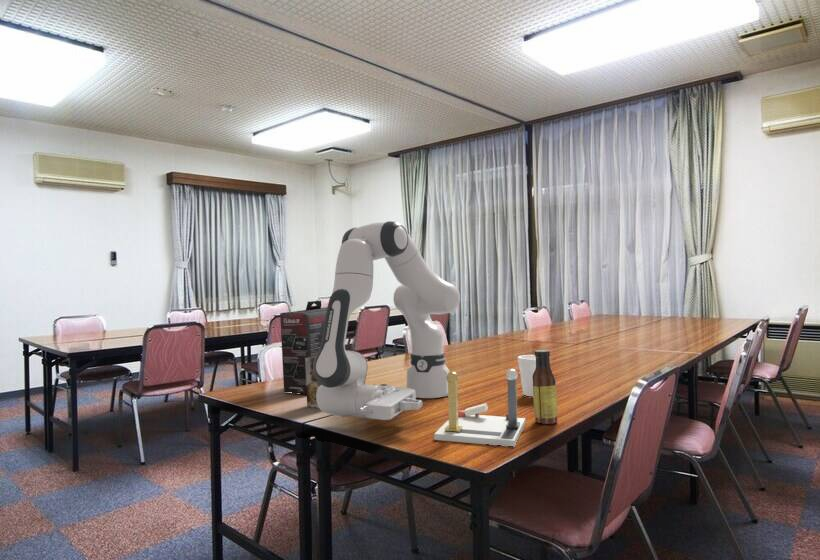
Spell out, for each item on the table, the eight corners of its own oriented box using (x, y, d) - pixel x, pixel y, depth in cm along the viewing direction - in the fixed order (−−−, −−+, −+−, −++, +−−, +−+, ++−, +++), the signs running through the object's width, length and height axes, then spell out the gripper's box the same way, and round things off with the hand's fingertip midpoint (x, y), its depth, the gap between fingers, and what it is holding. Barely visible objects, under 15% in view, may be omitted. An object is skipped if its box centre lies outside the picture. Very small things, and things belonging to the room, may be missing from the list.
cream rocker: (468, 413, 145) (466, 408, 145) (488, 408, 143) (486, 403, 143) (465, 416, 142) (464, 411, 143) (486, 411, 140) (484, 405, 141)
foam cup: (517, 397, 170) (516, 358, 170) (520, 391, 179) (519, 354, 179) (547, 399, 167) (546, 359, 167) (548, 392, 176) (547, 355, 176)
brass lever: (447, 426, 133) (446, 370, 133) (462, 428, 132) (461, 370, 132) (444, 430, 130) (443, 372, 130) (459, 431, 129) (458, 373, 129)
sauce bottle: (561, 421, 142) (560, 350, 142) (551, 426, 137) (549, 352, 137) (540, 417, 146) (538, 348, 146) (529, 422, 142) (527, 350, 142)
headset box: (309, 396, 181) (307, 302, 180) (281, 393, 186) (278, 302, 186) (347, 382, 203) (345, 299, 202) (320, 380, 208) (318, 299, 208)
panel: (455, 418, 148) (454, 409, 148) (525, 423, 141) (525, 413, 141) (434, 439, 129) (434, 429, 129) (514, 447, 122) (514, 435, 122)
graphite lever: (508, 423, 135) (506, 367, 135) (520, 424, 134) (519, 367, 134) (505, 427, 132) (504, 370, 132) (518, 428, 130) (516, 370, 130)
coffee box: (340, 405, 166) (339, 355, 166) (326, 410, 161) (325, 358, 161) (319, 402, 171) (318, 354, 171) (305, 406, 166) (304, 356, 166)
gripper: (355, 399, 129) (406, 402, 124) (386, 382, 148) (432, 385, 144) (355, 424, 129) (406, 428, 124) (387, 404, 148) (432, 407, 144)
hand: (420, 405), depth 134 cm, fingers closed
